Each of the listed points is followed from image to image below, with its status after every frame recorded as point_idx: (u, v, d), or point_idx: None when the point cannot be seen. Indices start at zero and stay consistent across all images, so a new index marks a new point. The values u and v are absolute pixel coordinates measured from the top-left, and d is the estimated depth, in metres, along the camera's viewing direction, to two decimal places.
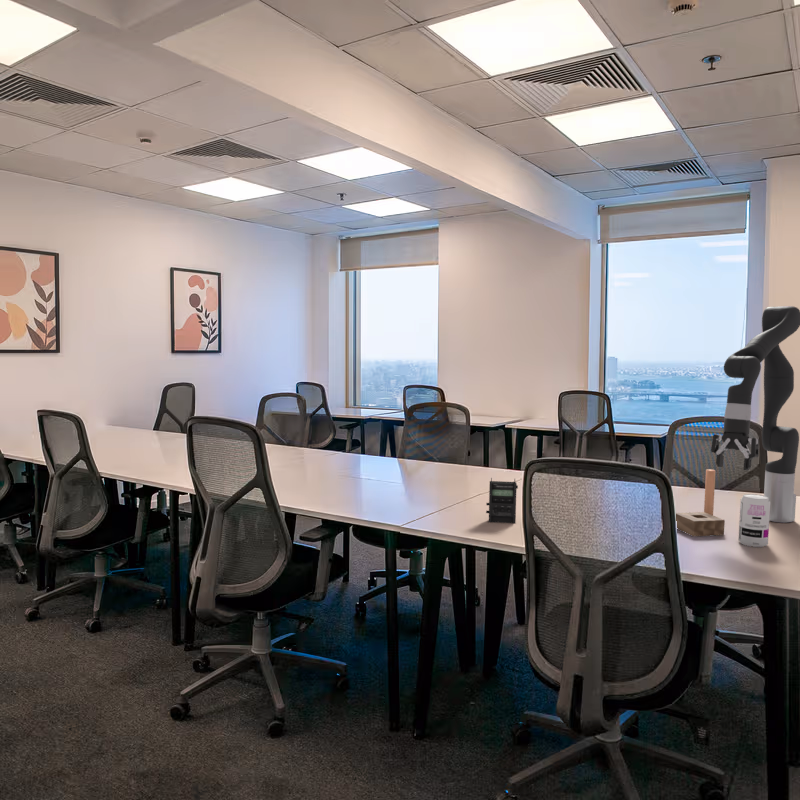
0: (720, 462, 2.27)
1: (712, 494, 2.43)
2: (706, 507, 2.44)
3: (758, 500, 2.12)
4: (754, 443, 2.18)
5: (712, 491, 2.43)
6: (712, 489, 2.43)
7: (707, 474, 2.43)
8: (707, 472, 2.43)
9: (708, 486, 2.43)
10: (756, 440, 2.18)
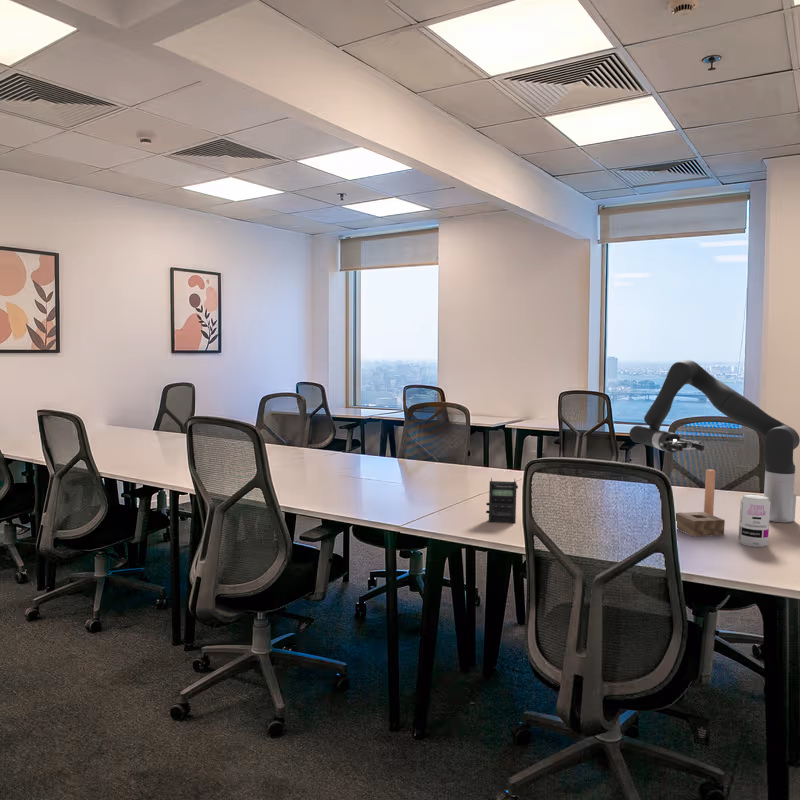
0: (699, 448, 2.56)
1: (712, 494, 2.43)
2: (706, 507, 2.44)
3: (758, 500, 2.12)
4: (662, 447, 2.61)
5: (712, 491, 2.43)
6: (712, 489, 2.43)
7: (707, 474, 2.43)
8: (707, 472, 2.43)
9: (708, 486, 2.43)
10: (660, 445, 2.62)
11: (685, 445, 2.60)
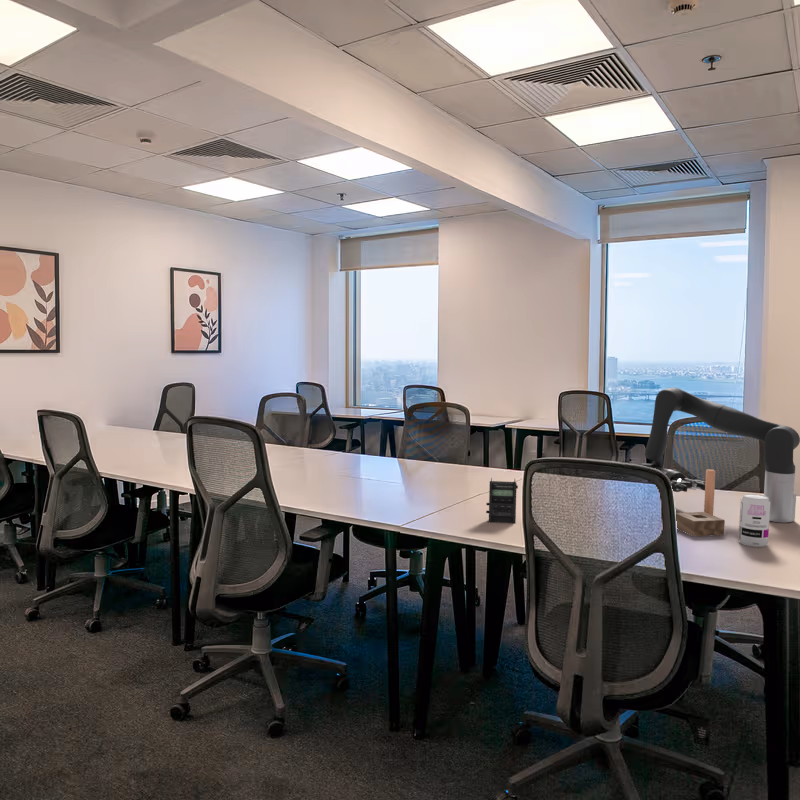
0: (704, 489, 2.53)
1: (712, 494, 2.43)
2: (706, 507, 2.44)
3: (758, 500, 2.12)
4: None
5: (712, 491, 2.43)
6: (712, 489, 2.43)
7: (707, 474, 2.43)
8: (707, 472, 2.43)
9: (708, 486, 2.43)
10: None
11: (690, 485, 2.58)
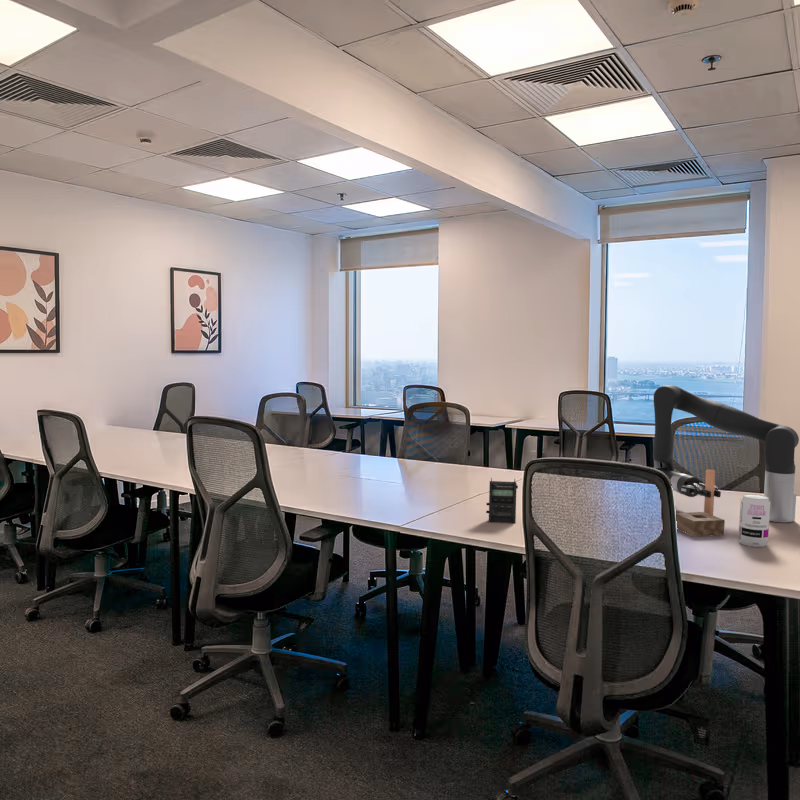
0: (716, 495, 2.43)
1: (712, 494, 2.43)
2: (706, 507, 2.44)
3: (758, 500, 2.12)
4: (685, 493, 2.48)
5: (712, 491, 2.43)
6: (712, 489, 2.43)
7: (707, 474, 2.43)
8: (707, 472, 2.43)
9: (708, 486, 2.43)
10: (682, 490, 2.49)
11: None
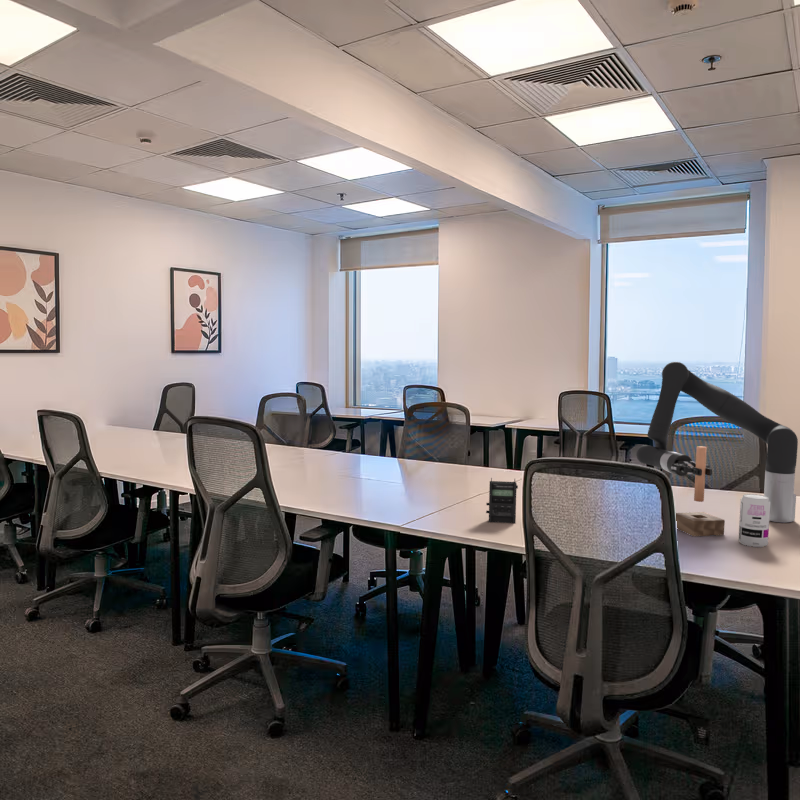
0: (707, 473, 2.30)
1: (703, 472, 2.30)
2: (697, 486, 2.31)
3: (758, 500, 2.12)
4: (675, 471, 2.35)
5: (703, 469, 2.30)
6: (703, 467, 2.29)
7: (698, 451, 2.30)
8: (698, 449, 2.30)
9: (699, 463, 2.30)
10: (672, 469, 2.36)
11: None
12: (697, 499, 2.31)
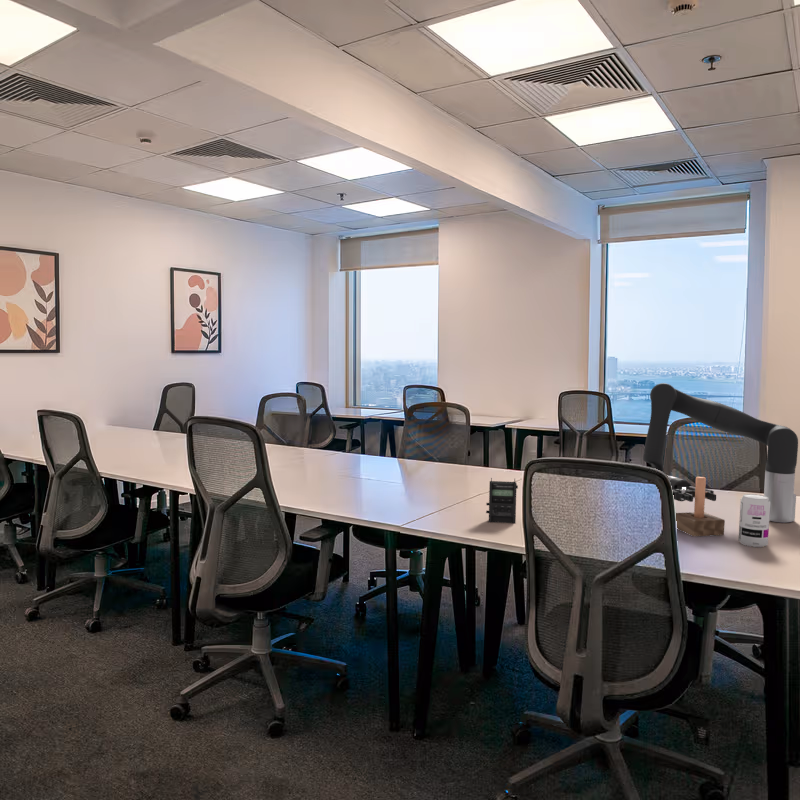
0: (711, 498, 2.30)
1: (702, 503, 2.29)
2: (696, 517, 2.30)
3: (758, 500, 2.12)
4: None
5: (702, 500, 2.29)
6: (702, 498, 2.29)
7: (697, 482, 2.29)
8: (697, 480, 2.29)
9: (698, 494, 2.29)
10: None
11: None
12: None
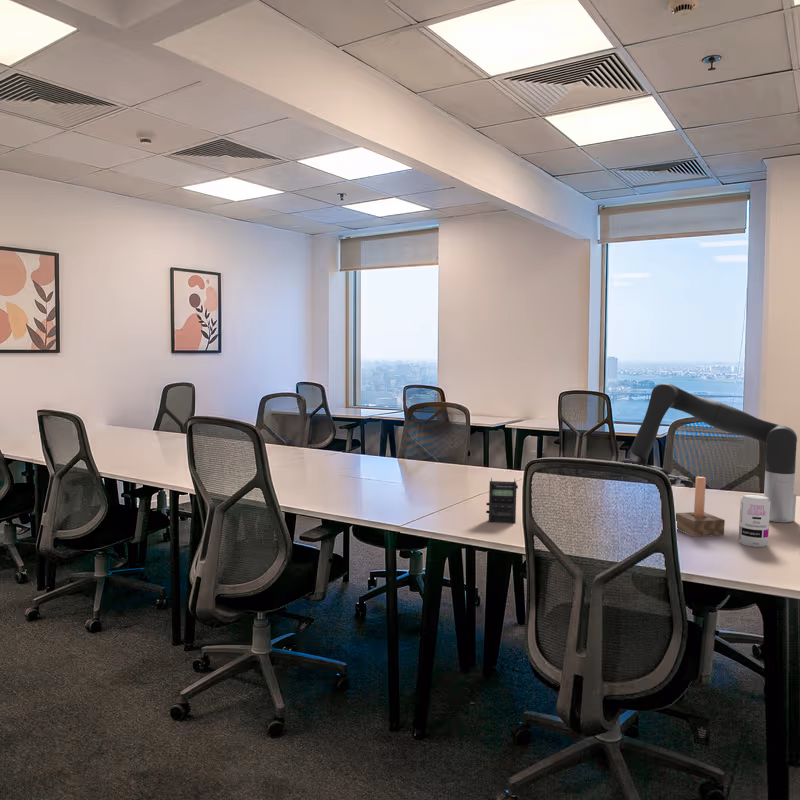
0: (688, 485, 2.43)
1: (702, 503, 2.29)
2: (696, 516, 2.30)
3: (758, 500, 2.12)
4: None
5: (702, 500, 2.29)
6: (702, 497, 2.29)
7: (697, 481, 2.29)
8: (697, 480, 2.29)
9: (698, 494, 2.29)
10: None
11: (673, 481, 2.47)
12: None
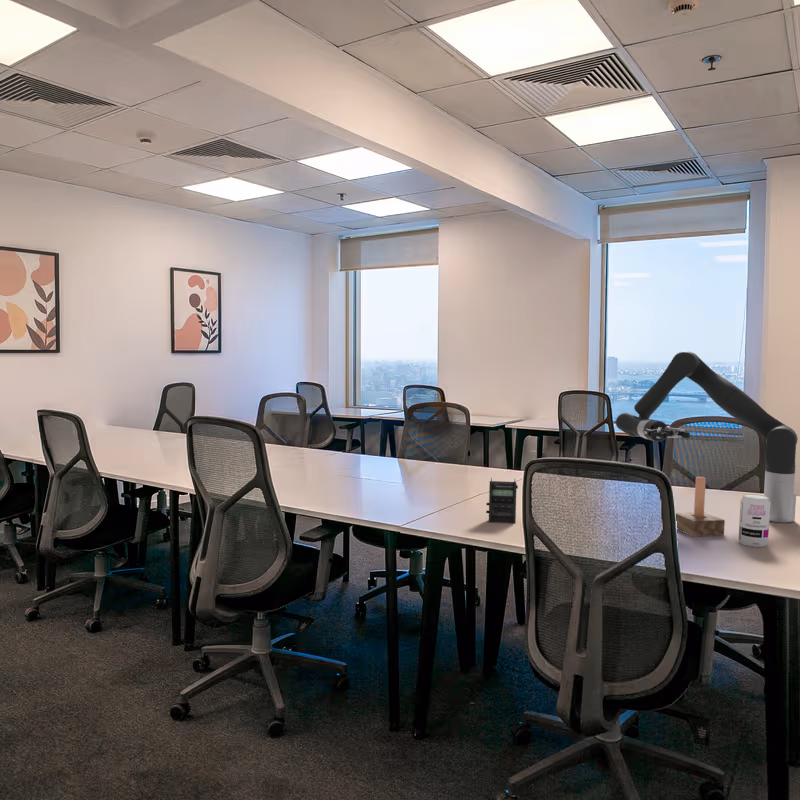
0: (685, 436, 2.45)
1: (702, 503, 2.29)
2: (696, 517, 2.30)
3: (758, 500, 2.12)
4: (646, 435, 2.50)
5: (702, 500, 2.29)
6: (702, 497, 2.29)
7: (697, 482, 2.29)
8: (697, 480, 2.29)
9: (698, 494, 2.29)
10: (644, 433, 2.51)
11: (671, 433, 2.49)
12: None
